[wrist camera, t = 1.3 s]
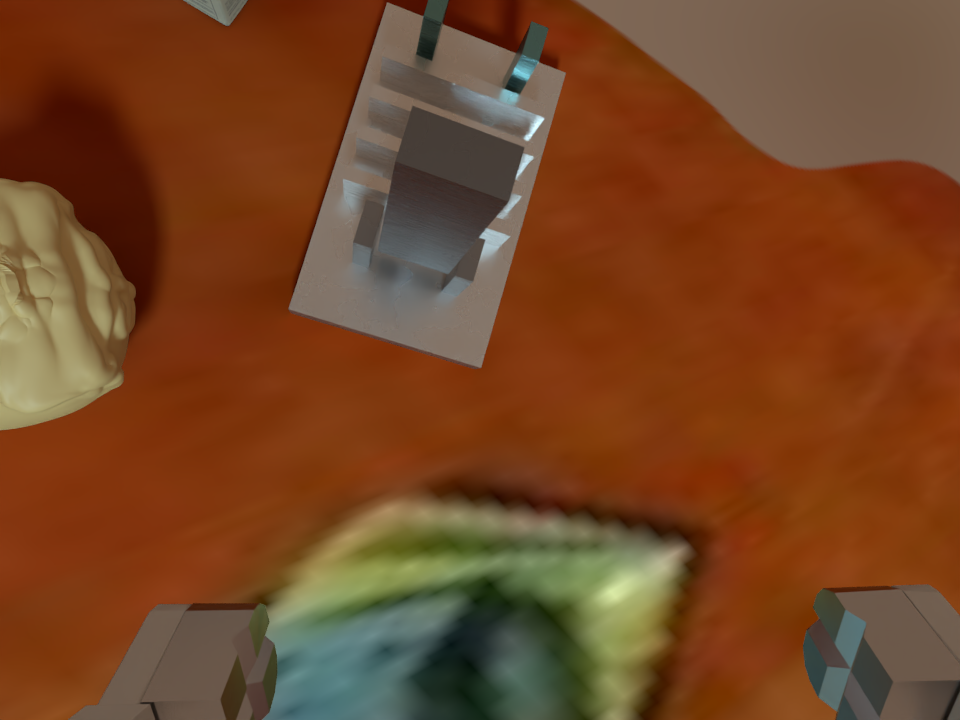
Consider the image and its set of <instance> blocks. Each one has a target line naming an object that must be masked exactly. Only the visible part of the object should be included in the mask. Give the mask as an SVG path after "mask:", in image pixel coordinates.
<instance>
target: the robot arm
mask: <svg viewBox="0 0 960 720" xmlns="http://www.w3.org/2000/svg"><path fill="white" fill-rule="evenodd" d="M813 608H814V610H815V612H816V613H817V615H818V617H819V618H820V619H819V620H818V621H816V622H815V623H814V624H813V625H812V626H810V627H809V628H808V629H807V631H806V636H805V640H804V644H803V651H804V660H805V667H806V670H807V673H808V676H809V679H810V682H811V684H812V686H813V688H814V690H815V692H816V694H817V696H818V697H819V698H820V699H821V700H823V701H824V702H825V703H826V704H828V705H829V706H830V707H832V708H833V709H834V710H836V711H837V714H836V719H835V720H960V616H959V614H958V613H957V612H956V611H955V610H954V609H953V607H952V606H951V605H950V604H949V603H948V602H947V600H946V599H945V598H944V597H943V596H942V595H941V593H940V592H939V591H938V590H936V589H935V588H933V587H931V586H930V585H901V586H891V587H890V586H869V587H842V588H823V589H822V590H821V591H820V592H819V593H818V594H817V596H816V599H815V602H814V606H813ZM268 624H269V618H268V615H267V611H266V607H265V605H263V604H260V603H193V604H158V605H157V606H156V607H155V608H154V609H152V610H151V611H150V612H149V613H148V615H147V617H146V619H145V620H144V622H143V624H142V626H141V628H140V629H139V631H138V633H137V635H136V637H135V638H134V640H133V642H132V644H131V646H130V647H129V649H128V651H127V653H126V654H125V656H124V658H123V660H122V662H121V663H120V665H119V667H118V669H117V671H116V672H115V674H114V676H113V678H112V680H111V681H110V683H109V685H108V687H107V688H106V690H105V692H104V694H103V696H102V697H101V699H100V701H99V703H98V705H89V706H85V707H84V708H83V709H81V710H80V711H79V712H77V713H76V714H75V715H73V716H72V717H71V718H70V719H68V720H262V719H263V718H264V717H265V716H266V715H267V714H268V713H269V712H270V708H271V704H272V701H273V697H274V693H275V686H276V678H277V655H276V650H275V645H274V643H273V642H272V641H271V640H269V639H268V638H267V637H266V636H265V633H266V630H267V627H268Z"/></svg>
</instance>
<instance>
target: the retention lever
mask: <svg viewBox="0 0 960 720" xmlns="http://www.w3.org/2000/svg"><path fill="white" fill-rule="evenodd" d="M524 148H525V147H523V146H520V145H517V144H515V143H512V142H509V141H507V140H504V139H501V138H498V137H496V136H493V135H490V134H488V133H485V132H482V131H480V130H477V129H474V128H472V127H469V126H466V125H463V124H461V123H458V122H455V121H453V120H450V119H447V118H445V117H442V116H439V115H436V114H434V113H431V112H428V111H426V110H423V109H420V108H418V107H415V106H412V109H411V112H410V116H409V119H408V122H407V125H406V129H405V132H404V135H403V138H402V141H401V145H400V148H399V151H398V154H397V157H396V161H395V165H394V170H393V175H392V180H391V185H390V190H389V195H388V200H387V206H386V211H385V216H384V221H383V226H382V231H381V236H380V241H379V246H378V252H381V253H385V254H388V255H391V256H394V257H397V258H400V259H403V260H406V261H409V262H412V263H415V264H418V265H421V266H424V267H427V268H430V269H433V270H436V271H439V272H442V273H445V274H449V273H450V271H451V270H452V269H453V268H454V267H455V265H456V264H457V263H458V262H459V261H460V259H461V258H462V257H463V256H464V255H465V253H466V252H467V251H468V250H469V249H470V247H471V246H472V245H473V244H474V243H475V241H476V240H477V239H478V238H479V237H480V236H481V234H482V233H483V232H484V231H485V230H486V228H487V227H488V226H489V225H490V224H491V222H492V221H493V220H494V219H495V218H496V216H497V215H498V214H499V213H500V212H501V210H502V209H503V208H504V207H505V206H506V204H507V203H508V202H509V199H510V196H511V192H512V189H513V186H514V182H515V179H516V175H517V172H518V168H519V165H520V162H521V158H522V155H523V151H524Z"/></svg>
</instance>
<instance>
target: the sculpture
mask: <svg viewBox="0 0 960 720" xmlns="http://www.w3.org/2000/svg"><path fill="white" fill-rule="evenodd" d="M135 296H136V289H135V287H134V285H133V284H132V283H131V282H129V281H127V280H126V279H125V277H124V276H123V274H122V272H121V270H120V268H119V267H118V264H117V262H116V260H115V258H114V256H113V255H112V253H111V251H110V250H109V248H108V247H107V246H106V244H105V243H104V242H103V241H102V240H101V239H100V238H99V237H98V236H97V235H96V234H95V233H93V232H91V231H88V230H86V229H85V228H84V227H83V226H82V225H81V224H80V223H79V222H78V221H77V219H76V217H75V215H74V207H73V205H72V203H71V202H70V201H68V200H67V199H65V198H64V197H63V196H62V195H61V194H60V193H59V192H58V191H56V190H55V189H54V188H52V187H50V186H47V185H45V184H42V183H38V182H17V181H14V180H9V179H3V178H0V430H7V429H15V428H21V427H26V426H31V425H35V424H39V423H42V422H45V421H49V420H52V419H55V418H59V417H62V416H65V415H67V414H70V413H72V412H75V411H77V410H79V409H81V408H83V407H85V406H86V405H88V404H90V403H91V402H93V401H94V400H95V399H97V398H98V397H100V396H102V395H104V394H105V393H107V392H108V391H110V390H112V389H114V388H117V387H119V386H120V385H121V384H122V383H123V381H124V372H123V370H122V368H121V367H122V365H123V362H124V359H125V355H126V351H127V347H128V341H129V334H130V332H131V331H132V329H133V328H134V325H135V314H136V308H135V302H134V298H135Z"/></svg>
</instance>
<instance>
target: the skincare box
mask: <svg viewBox="0 0 960 720" xmlns="http://www.w3.org/2000/svg"><path fill="white" fill-rule="evenodd" d="M184 1H185V2H187V3H189V4H190V5H192V6H194V7H195V8H197V9H199V10H200V11H202V12H204V13H205V14H207V15H209V16H210V17H212V18H214V19H216V20H217V21H219V22H221V23H222V24H224V25H226V26H229V25H230V24H231V23H232V21H233V20H234V18H235V17H236V16H237V14H238V13H239V12H240V10H241V9H242V8H243V6H244V5H245V3H246V2H247V0H184Z"/></svg>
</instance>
